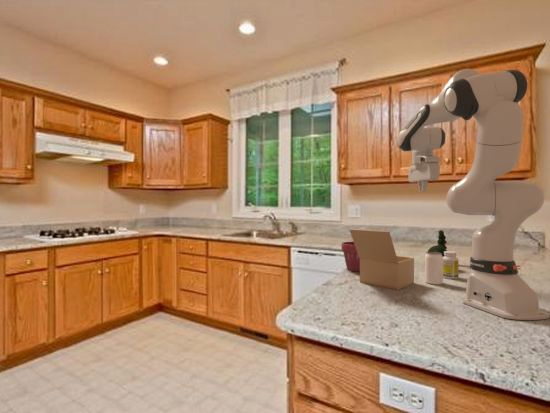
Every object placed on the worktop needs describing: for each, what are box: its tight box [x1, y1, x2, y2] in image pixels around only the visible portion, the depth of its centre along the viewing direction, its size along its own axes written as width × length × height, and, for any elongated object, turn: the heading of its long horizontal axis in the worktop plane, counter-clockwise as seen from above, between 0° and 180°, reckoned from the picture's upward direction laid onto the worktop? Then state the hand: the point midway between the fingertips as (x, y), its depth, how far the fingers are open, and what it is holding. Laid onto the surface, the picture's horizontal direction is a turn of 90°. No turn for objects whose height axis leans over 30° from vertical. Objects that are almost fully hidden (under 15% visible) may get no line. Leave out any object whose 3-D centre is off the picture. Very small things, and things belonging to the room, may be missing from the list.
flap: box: [349, 228, 398, 264], centre depth 122 cm, size 14×16×1 cm
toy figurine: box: [427, 229, 448, 257], centre depth 161 cm, size 9×19×25 cm
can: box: [424, 251, 444, 286], centre depth 129 cm, size 6×6×12 cm
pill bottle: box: [443, 250, 459, 280], centre depth 138 cm, size 6×6×11 cm
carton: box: [359, 255, 415, 290], centre depth 130 cm, size 14×16×10 cm
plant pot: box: [341, 241, 360, 272], centre depth 154 cm, size 14×14×13 cm
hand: (422, 191), depth 145 cm, fingers closed
